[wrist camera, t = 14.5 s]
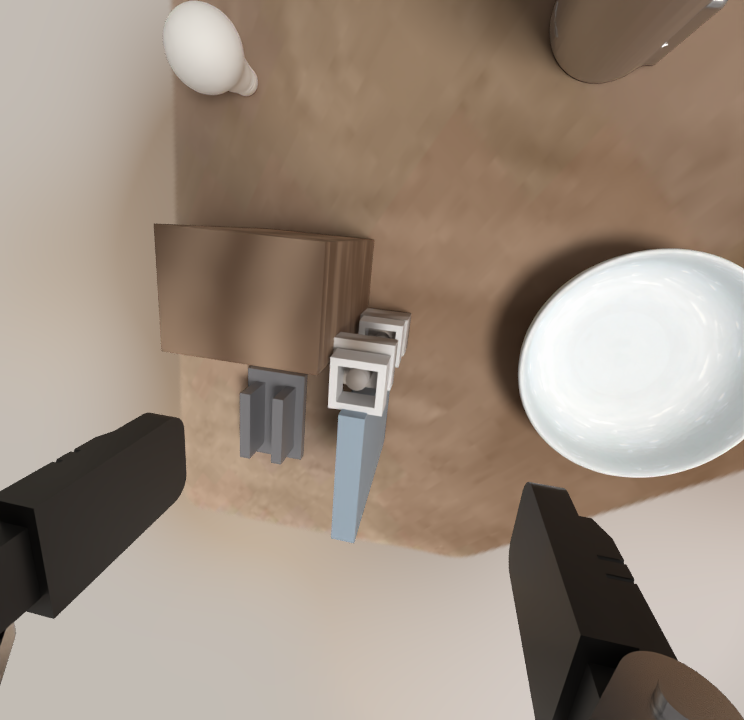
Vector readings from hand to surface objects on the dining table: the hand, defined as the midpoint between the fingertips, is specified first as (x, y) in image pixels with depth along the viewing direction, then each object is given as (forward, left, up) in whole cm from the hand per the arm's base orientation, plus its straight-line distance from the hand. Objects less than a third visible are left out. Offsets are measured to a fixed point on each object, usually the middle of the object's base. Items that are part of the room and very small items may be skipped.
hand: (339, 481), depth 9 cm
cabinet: (+10, +1, -36) cm, 37 cm away
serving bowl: (-20, +4, -36) cm, 42 cm away
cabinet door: (+4, +10, -35) cm, 37 cm away
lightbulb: (+20, -18, -36) cm, 45 cm away
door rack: (+16, +17, -36) cm, 43 cm away
